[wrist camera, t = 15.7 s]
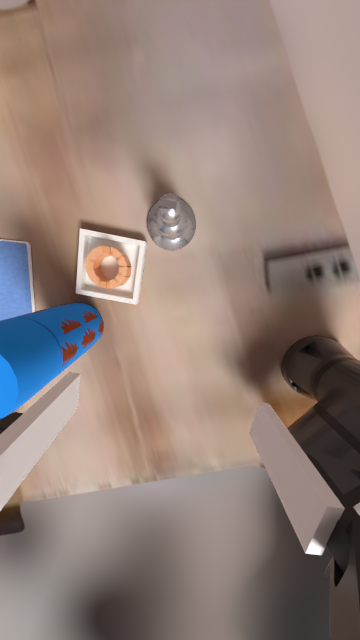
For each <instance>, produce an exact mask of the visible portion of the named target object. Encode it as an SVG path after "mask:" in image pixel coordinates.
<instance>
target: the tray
mask: <svg viewBox="0 0 360 640" xmlns="http://www.w3.org/2000/svg"><path fill="white" fill-rule="evenodd" d="M103 245H104V246H109V247H114V248H116V249H118V250H120V251H121V252H123V253H124V254H125V255H126V256H127V257H128V258H129V261H130V263H131V267H132V270H131V276H129V277H130V278H129V280H128V281H127V282H126V283H125V284H124V285H122V286H119V287H116V288H111V289H107V288H102V287H99V286H97V285H96V284H94V283H93V282H92V281H91V279H89V277H88V275H87V272H86V269H85V264H86V259H88V258H86V257H87V256H88V254H89V253H90V252H91V250H93V249H94V248H97V247H99V246H103ZM146 249H147V243H146V242H145V241H140V240H136V239H131V238H126V237H121V236H116V235H111V234H106V233H101V232H96V231H91V230H86V229H81V228H80V236H79V250H78V265H77V280H76V294H81V295H87V296H92V297H98V298H103V299H109V300H114V301H120V302H125V303H131V304H136V305H137V304H138V303H139V299H140V292H141V284H142V277H143V270H144V263H145V256H146ZM101 271H102V273H103V275H104V276H105V277H106V278H107V279H109V280H113V279H115V277H116V276H117V275H118V274H119V264H118V262H117V260H116V259H115V258H114V257H113V256H109V257H106V258H105V259H104V260H103V261H102V263H101Z"/></svg>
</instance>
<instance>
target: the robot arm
mask: <svg viewBox="0 0 360 640" xmlns="http://www.w3.org/2000/svg"><path fill="white" fill-rule="evenodd" d="M282 374H283V377H284V379H285V381H286V382H287V383H288V385H289V386H291V387H292V388H293V389H294V390H295V391H296V392H298V393H300V394H302V395H304V396H306V397H309V398H311V399H313V400H316V401H318V403H317V404H315V405H314V406H313V407H312V408H311V409H309V410H308V411H307V412H306V413H305V414H304V415H302V416H301V417H300V418H299V419H298V420H297V421H295V422H294V423H293V424H292V425H291V426H289V427H288V428H286V426H285V425H284V424H283V422H282V421H281V419H280V418H279V417H278V415H277V414H276V413H275V411H274V410H273V408H272V407H271V406H270V404H268V403H261V402H259V405H258V408H257V411H256V414H255V417H254V421H253V424H252V427H251V430H250V435H251V437H252V439H253V442H254V444H255V446H256V448H257V450H258V452H259V454H260V457H261V459H262V461H263V463H264V465H265V467H266V470H267V472H268V474H269V476H270V478H271V480H272V483H273V485H274V487H275V489H276V491H277V493H278V495H279V498H280V500H281V502H282V504H283V506H284V508H285V511H286V513H287V515H288V517H289V519H290V521H291V524H292V526H293V528H294V530H295V532H296V534H297V537H298V538H299V540H300V543H301V545H302V547H303V549H304V551H305V553H307V554H316V555H322V554H323V552H324V550H325V548H326V546H328V548H329V550H330V552H331V554H332V555H333V556H332V558H331V560H330V562H329V564H328V566H327V568H326V570H325V574H324V575H325V576H326V577H328V575H329V573H330V625H329V640H360V361H359V360H357V359H355V358H354V357H353V356H352V355H351V354H350V353H349V352H348V351H347V350H346V349H345V348H344V347H343V346H342V345H341V344H339V343H338V342H336V341H334V340H332V339H329V338H327V337H323V336H311V337H307V338H304V339H302V340H300V341H298V342H297V343H295V344H294V345H293V346H292V347H291V348H290V349H289V350H288V352H287V353H286V355H285V357H284V359H283V363H282ZM80 376H81V374H78V373H72V372H69V373H68V374H67V375H66V376H65V377H64V378H63V379H61V380H60V381H59V382H58V383H57V384H56V385H55V386H54V387H53V388H51V389H50V390H49V391H48V392H47V393H46V394H45V395H44V396H42V397H41V398H40V399H39V400H38V401H37V402H36V403H35V404H34V405H32V406H31V407H30V408H29V409H28V410H27V411H26V412H25V413H17V412H15V413H13V414H11V415H9V416H7V417H5V418H3V419H2V420H0V511H1V509H2V508H3V507H4V505H5V504H6V503H7V501H8V500H9V499H10V497H11V496H12V495H13V493H14V492H15V491H16V489H17V488H18V487H19V485H20V484H21V483H22V481H23V480H24V479H25V477H26V476H27V475H28V473H29V472H30V471H31V469H32V468H33V467H34V465H35V464H36V463H37V461H38V460H39V459H40V457H41V456H42V455H43V453H44V452H45V451H46V449H47V448H48V447H49V445H50V444H51V443H52V441H53V440H54V439H55V437H56V436H57V435H58V433H59V432H60V431H61V429H62V428H63V427H64V425H65V424H66V423H67V421H68V420H69V419H70V417H71V416H72V415H73V413H74V412H75V411H76V409H77V408H78V400H79V388H80Z"/></svg>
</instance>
